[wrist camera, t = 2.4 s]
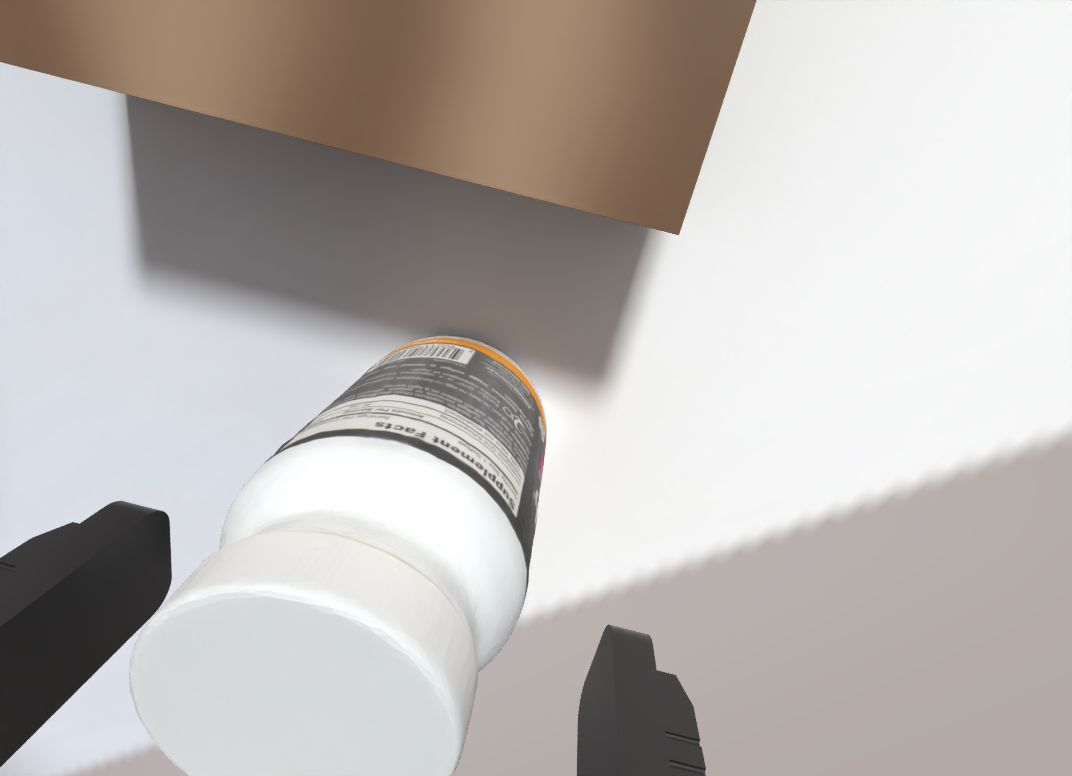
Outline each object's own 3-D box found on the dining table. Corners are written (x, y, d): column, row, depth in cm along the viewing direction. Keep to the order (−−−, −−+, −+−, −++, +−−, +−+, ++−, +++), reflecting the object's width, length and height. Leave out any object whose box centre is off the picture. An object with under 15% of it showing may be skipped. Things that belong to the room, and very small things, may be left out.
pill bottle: (491, 524, 18) (392, 900, 9) (337, 439, 17) (47, 750, 8) (585, 393, 16) (586, 702, 6) (414, 290, 15) (144, 474, 6)
